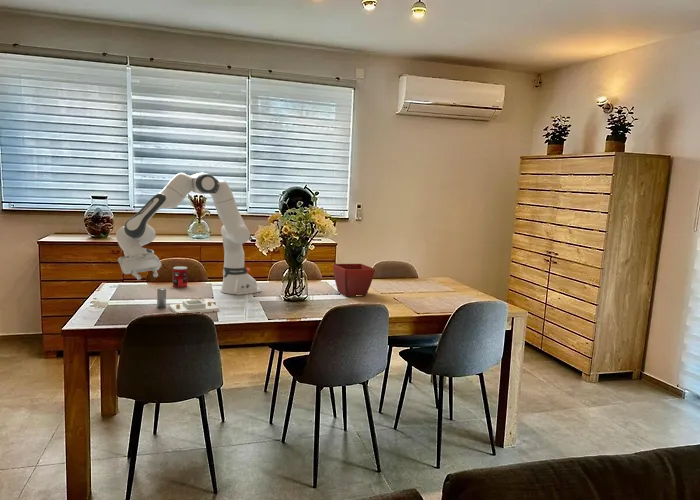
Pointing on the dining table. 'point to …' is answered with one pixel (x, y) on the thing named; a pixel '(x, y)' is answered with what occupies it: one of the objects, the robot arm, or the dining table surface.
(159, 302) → the pin
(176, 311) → the housing
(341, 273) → the plant pot
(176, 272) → the canned food
